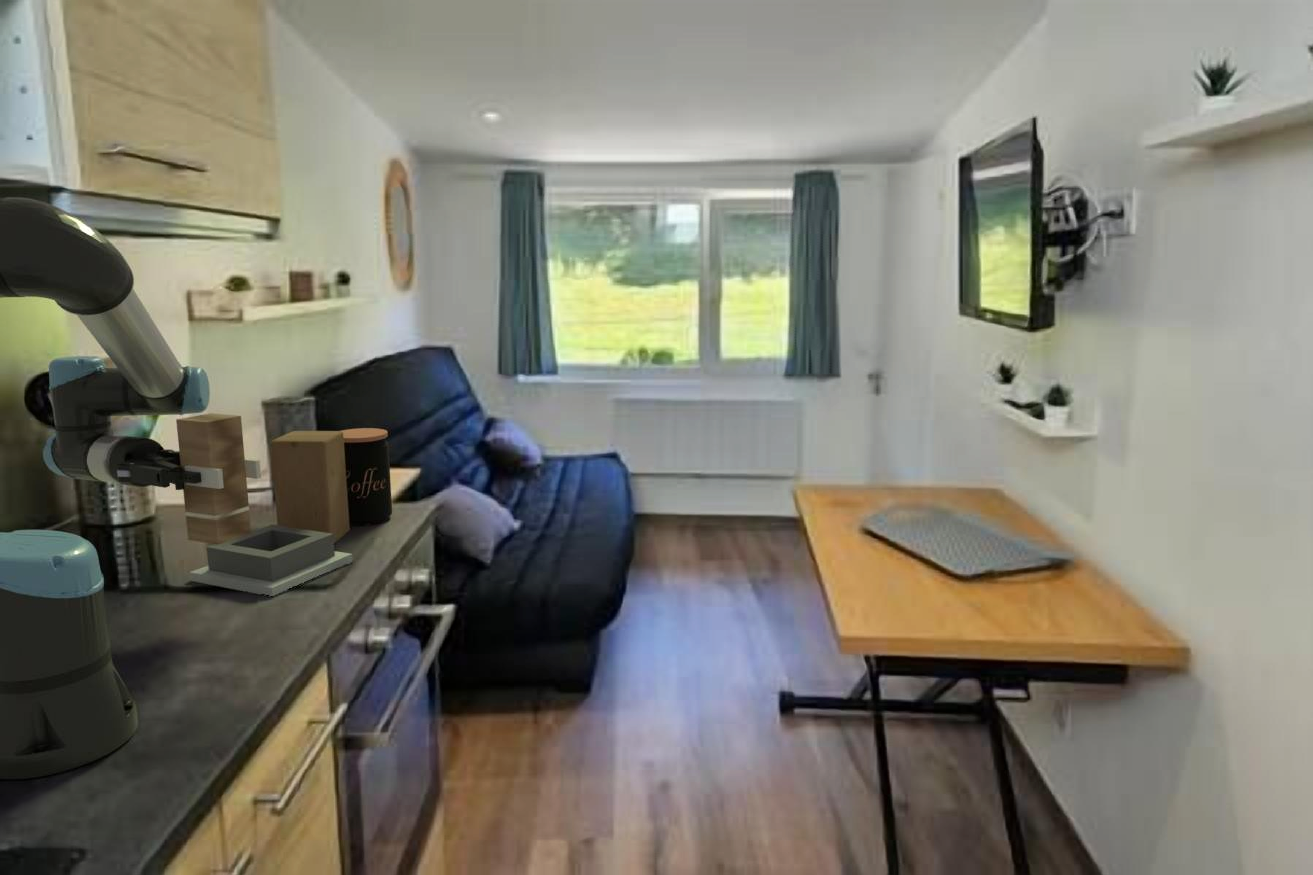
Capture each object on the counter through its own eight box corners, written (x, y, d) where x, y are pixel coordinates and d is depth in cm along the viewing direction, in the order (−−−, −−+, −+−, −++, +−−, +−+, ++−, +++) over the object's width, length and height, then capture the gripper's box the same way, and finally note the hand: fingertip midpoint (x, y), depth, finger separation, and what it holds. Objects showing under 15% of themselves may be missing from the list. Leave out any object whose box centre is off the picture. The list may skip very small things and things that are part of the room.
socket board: (272, 596, 142) (270, 563, 141) (190, 580, 149) (187, 548, 147) (352, 562, 158) (350, 532, 157) (274, 549, 165) (272, 520, 164)
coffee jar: (333, 527, 178) (327, 438, 174) (343, 513, 188) (337, 428, 185) (389, 525, 180) (384, 437, 176) (395, 510, 190) (391, 427, 186)
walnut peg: (218, 544, 130) (206, 422, 127) (187, 539, 132) (175, 419, 129) (251, 533, 135) (241, 415, 132) (222, 528, 138) (211, 413, 134)
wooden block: (331, 546, 166) (324, 441, 162) (278, 546, 166) (269, 440, 162) (350, 530, 176) (344, 430, 172) (300, 530, 176) (292, 430, 172)
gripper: (184, 471, 148) (291, 484, 139) (71, 498, 131) (185, 515, 122) (180, 427, 147) (288, 437, 138) (65, 448, 130) (180, 461, 121)
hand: (239, 474), depth 130 cm, fingers closed on walnut peg, 6 cm apart
